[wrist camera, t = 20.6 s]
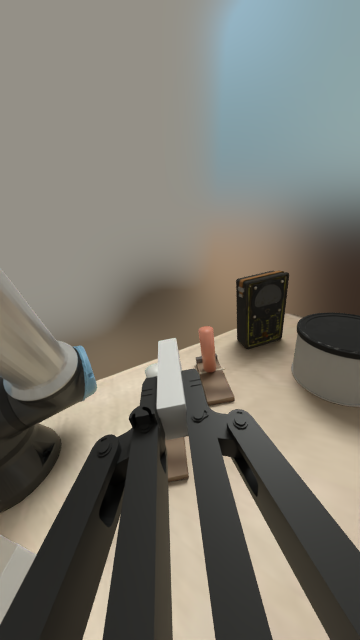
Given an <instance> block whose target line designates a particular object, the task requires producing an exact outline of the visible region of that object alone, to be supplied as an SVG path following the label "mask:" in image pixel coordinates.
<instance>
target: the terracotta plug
mask: <svg viewBox="0 0 360 640" xmlns="http://www.w3.org/2000/svg"><path fill="white" fill-rule="evenodd" d="M199 337H200V345H201V353H202V361H203V368H204V371H206V372H209V373H211V372H214V371H215V370H216V358H215V347H214V336H213V328H212V327H209V326H204V327H201V328H200V329H199Z"/></svg>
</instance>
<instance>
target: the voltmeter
mask: <svg viewBox="0 0 360 640" xmlns="http://www.w3.org/2000/svg"><path fill="white" fill-rule="evenodd" d="M288 280H289V273H287V272H285V273H284V272H283V271H269V272H265V273H261V274H257V275H252V276H248V277H244V278H240V279H237V280H236V285H237V286H236V288H237V340H238V341H239V342H241V343H242V344H243V345H244V346H245V348H246V349H250V348H253V347H256V346H259V345H263V344H266V343H269V342H273V341H276V340H279V339H281V338H282V332H283V323H284V315H285V306H286V297H287V288H288Z"/></svg>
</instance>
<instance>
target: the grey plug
mask: <svg viewBox="0 0 360 640" xmlns="http://www.w3.org/2000/svg"><path fill="white" fill-rule="evenodd" d="M145 374H146V377H147V378H150V377H155V376H158V363H155V364H151V365H150V366H148V367H147V368H146V370H145Z"/></svg>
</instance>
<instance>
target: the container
mask: <svg viewBox="0 0 360 640" xmlns="http://www.w3.org/2000/svg"><path fill="white" fill-rule="evenodd" d="M297 333H298V334H297V341H296V347H295V353H294V359H293V363H292V368H291V369H292V374H293V376H294V378H295V379H296V381H297V382H298V383H299V384H300V385H301V386H302V387H303V388H305V389H306V390H307V391H309V392H310V393H312V394H314V395H315V396H317V397H319V398H322V399H324V400H326V401H329V402H332V403H336V404H339V405H344V406H352V407H360V316H358V315H352V314H345V313H344V314H343V313H318V314H312V315H308V316H306V317H303V318H302V319H300V320H299V322H298V324H297Z"/></svg>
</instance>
